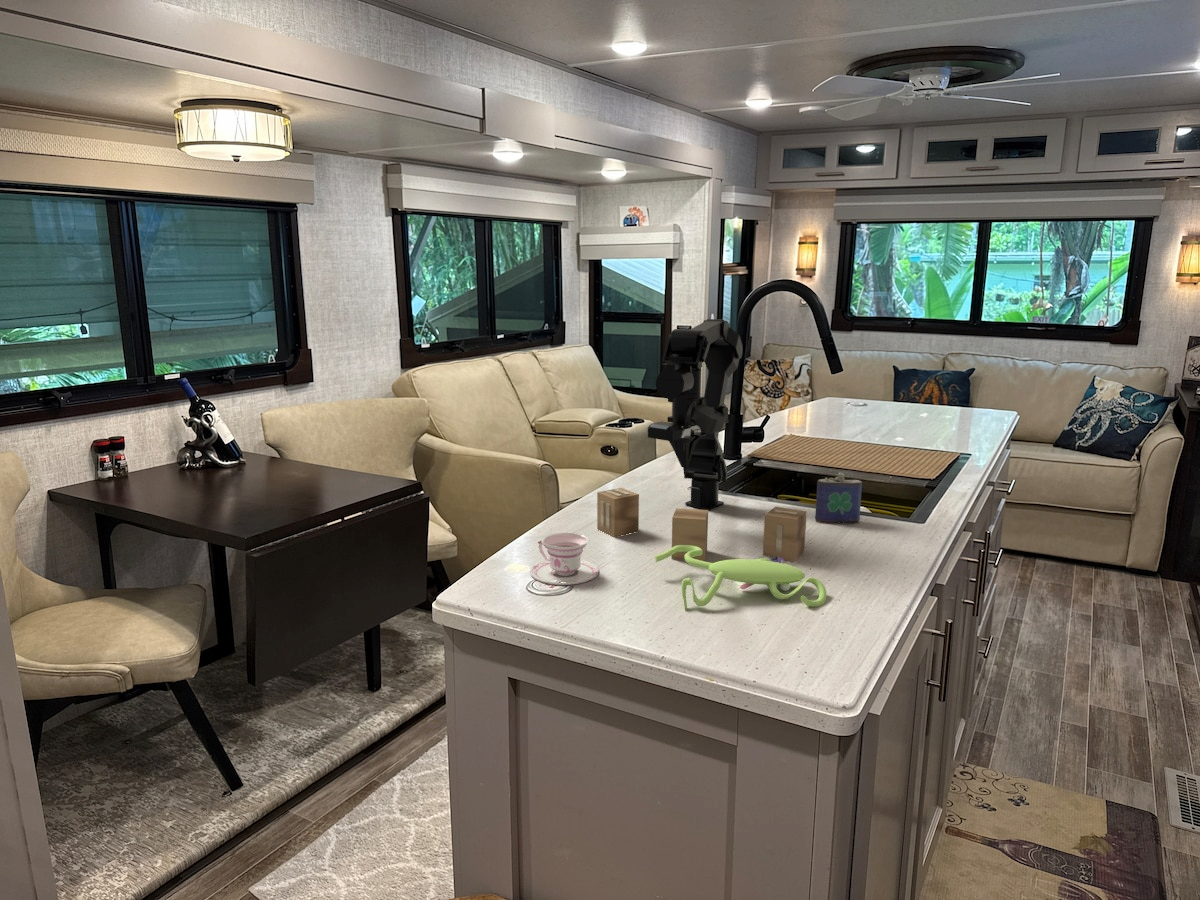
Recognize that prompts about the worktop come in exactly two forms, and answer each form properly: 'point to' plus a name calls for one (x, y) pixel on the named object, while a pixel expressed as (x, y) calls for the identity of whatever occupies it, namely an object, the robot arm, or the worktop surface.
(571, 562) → the teacup
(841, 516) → the flask
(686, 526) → the plain block
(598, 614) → the worktop surface
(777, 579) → the figurine
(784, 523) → the striped block
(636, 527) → the striped block
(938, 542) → the worktop surface
